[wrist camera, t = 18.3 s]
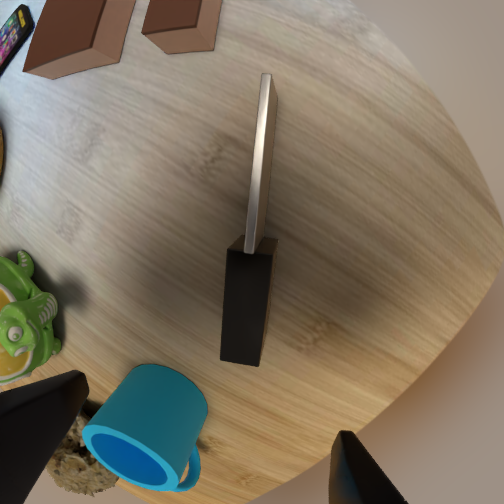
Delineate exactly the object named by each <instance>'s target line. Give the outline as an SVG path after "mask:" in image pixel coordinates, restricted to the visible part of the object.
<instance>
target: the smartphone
mask: <svg viewBox="0 0 504 504" xmlns="http://www.w3.org/2000/svg"><path fill="white" fill-rule="evenodd" d="M32 28H33V21H32V18H31V15H30V12H29V9H28V7H27V6H25V5H23V4H21V5H20V6H19V7H18V8H17V9H16V10H15V11H14V12H13V14H12V15H11V16H10V17H9V19H8V20H7V21H6V23H5V24H4V25H3V27H2V28H1V30H0V74H1V72H2V71H3V69H4V68H5V66H6V65H7V63H8V62H9V60H10V59H11V57H12V56H13V55H14V53H15V52H16V50H17V49H18V48H19V46H20V45H21V44H22V42H23V41H24V40H25V38H26V37H27V36H28V34H29V33H30V32H31V30H32Z"/></svg>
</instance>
